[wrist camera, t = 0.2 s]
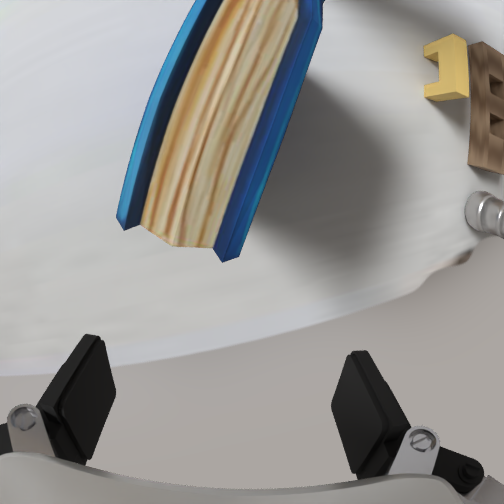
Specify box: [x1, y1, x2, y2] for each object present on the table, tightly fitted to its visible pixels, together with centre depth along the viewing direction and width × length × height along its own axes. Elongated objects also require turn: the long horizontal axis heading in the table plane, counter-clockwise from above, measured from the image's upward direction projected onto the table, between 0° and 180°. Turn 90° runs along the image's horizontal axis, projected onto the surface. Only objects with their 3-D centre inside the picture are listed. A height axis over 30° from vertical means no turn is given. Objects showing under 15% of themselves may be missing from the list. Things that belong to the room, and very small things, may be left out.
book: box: [116, 0, 325, 263], centre depth 24 cm, size 22×7×25 cm, turn 161°
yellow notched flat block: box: [424, 34, 469, 102], centre depth 30 cm, size 9×2×8 cm, turn 176°
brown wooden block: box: [468, 42, 504, 175], centre depth 33 cm, size 22×6×4 cm, turn 176°
